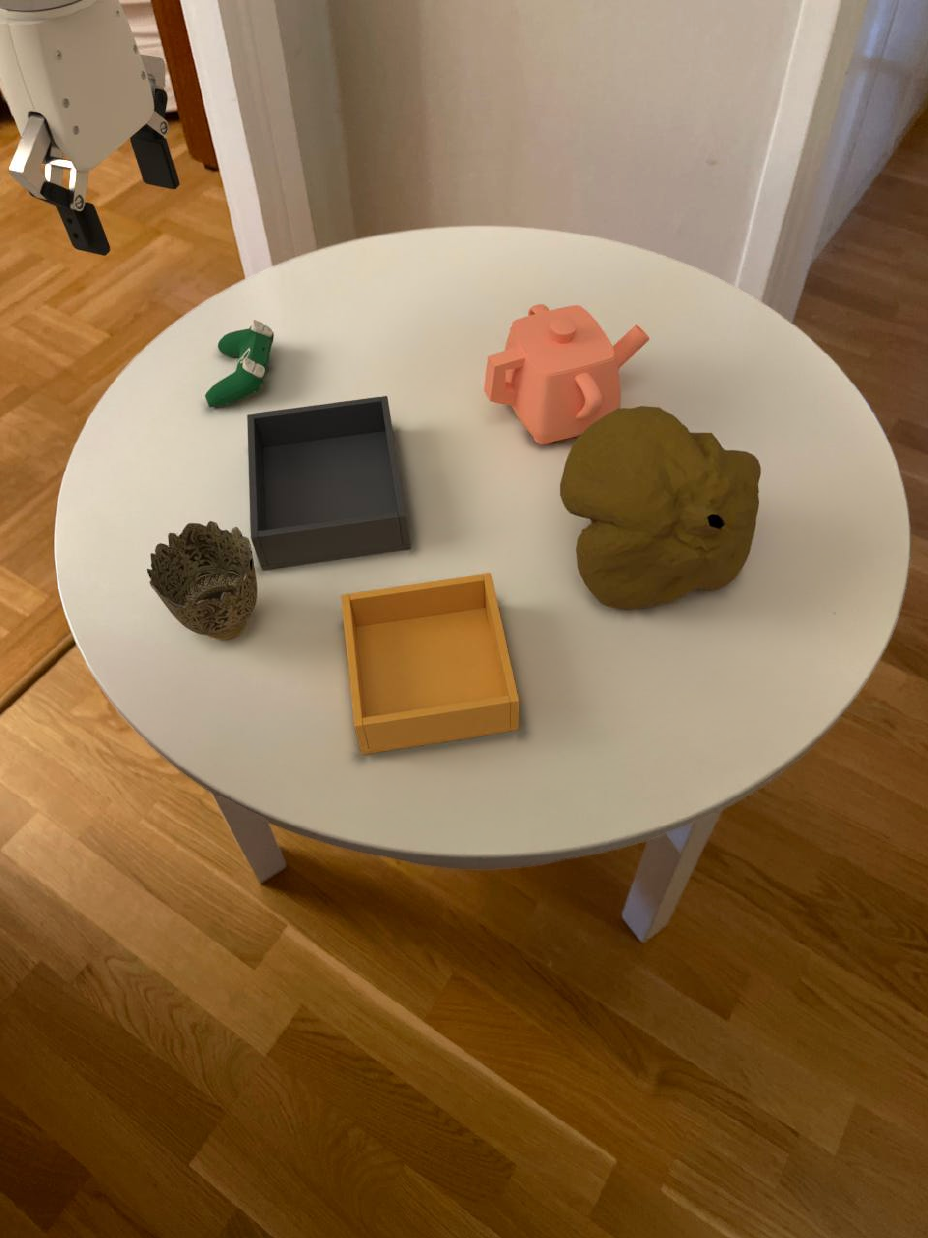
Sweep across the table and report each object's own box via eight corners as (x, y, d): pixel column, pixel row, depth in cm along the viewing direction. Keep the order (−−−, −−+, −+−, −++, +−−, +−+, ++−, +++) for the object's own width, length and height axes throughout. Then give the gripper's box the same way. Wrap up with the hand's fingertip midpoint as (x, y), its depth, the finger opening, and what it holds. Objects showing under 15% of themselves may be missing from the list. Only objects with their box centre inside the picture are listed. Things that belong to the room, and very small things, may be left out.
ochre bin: (361, 755, 65) (354, 726, 62) (348, 626, 72) (340, 594, 68) (518, 730, 66) (519, 700, 63) (491, 605, 72) (490, 572, 69)
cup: (159, 647, 71) (125, 583, 65) (209, 576, 75) (181, 509, 69) (244, 676, 69) (217, 613, 63) (290, 602, 73) (269, 535, 67)
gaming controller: (235, 425, 88) (270, 390, 84) (199, 404, 86) (234, 366, 82) (249, 361, 93) (283, 325, 90) (216, 340, 91) (249, 302, 88)
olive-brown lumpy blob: (699, 658, 69) (739, 532, 57) (527, 585, 73) (533, 455, 62) (761, 534, 76) (808, 400, 64) (601, 475, 80) (618, 339, 69)
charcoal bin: (261, 570, 75) (250, 537, 72) (257, 448, 84) (246, 414, 80) (411, 549, 76) (406, 515, 73) (392, 430, 84) (387, 395, 81)
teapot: (644, 391, 86) (658, 301, 78) (591, 474, 80) (600, 385, 72) (531, 355, 90) (534, 265, 82) (473, 432, 84) (470, 343, 76)
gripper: (74, -84, 66) (150, 154, 80) (-97, 20, 57) (23, 268, 71) (163, -73, 64) (225, 169, 78) (1, 36, 55) (104, 288, 69)
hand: (128, 216), depth 74 cm, fingers open, 9 cm apart
